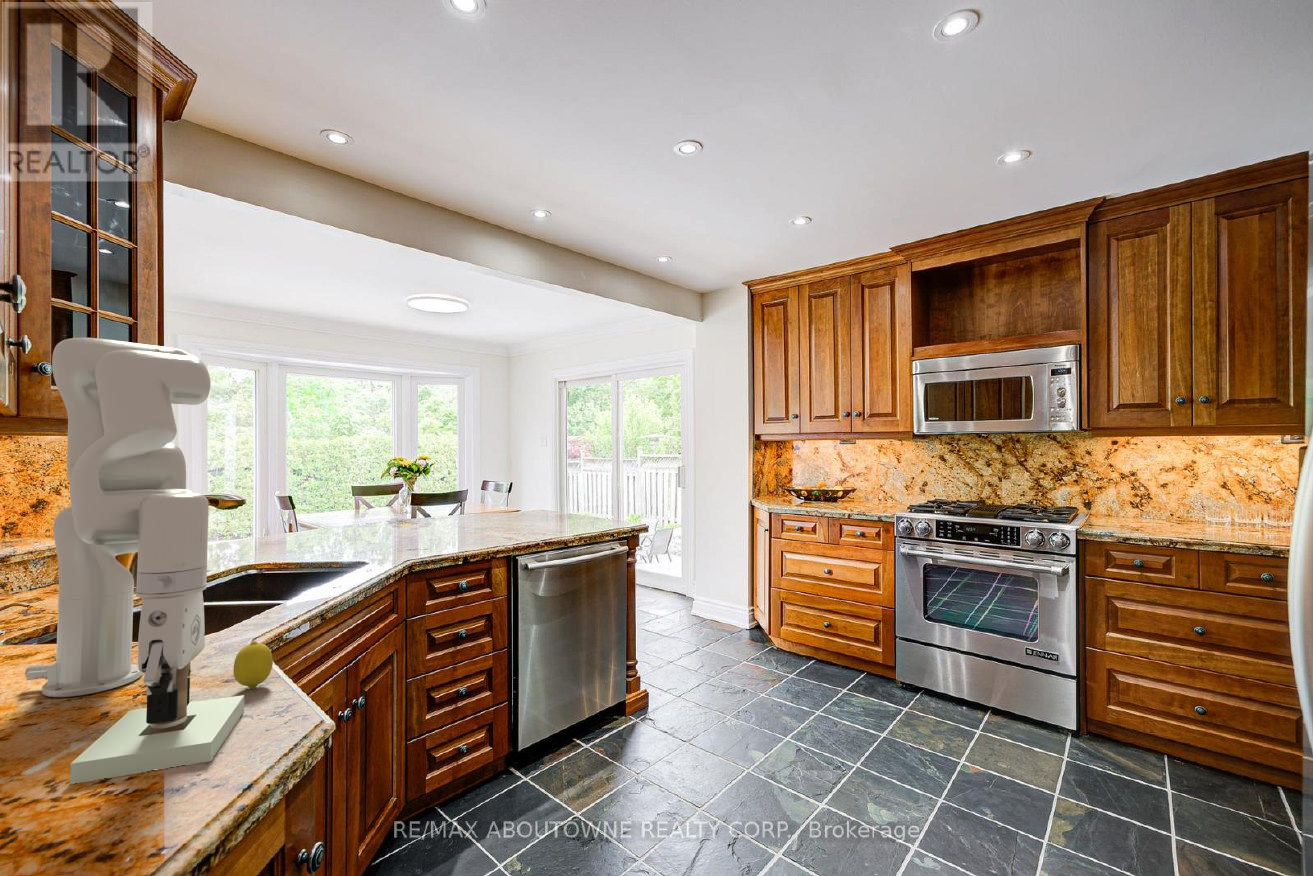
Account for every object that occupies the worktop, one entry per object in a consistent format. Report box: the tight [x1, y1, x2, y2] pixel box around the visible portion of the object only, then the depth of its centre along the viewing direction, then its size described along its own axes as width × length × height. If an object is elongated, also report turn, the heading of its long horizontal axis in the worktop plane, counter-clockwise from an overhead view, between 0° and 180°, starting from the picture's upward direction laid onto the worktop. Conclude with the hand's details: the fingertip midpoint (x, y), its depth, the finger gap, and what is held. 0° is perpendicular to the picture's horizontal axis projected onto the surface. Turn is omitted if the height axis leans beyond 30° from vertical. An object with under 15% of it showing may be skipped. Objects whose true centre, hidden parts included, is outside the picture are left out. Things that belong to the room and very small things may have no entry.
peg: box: [150, 664, 188, 734], centre depth 80 cm, size 4×4×11 cm
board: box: [69, 694, 245, 785], centre depth 80 cm, size 14×16×2 cm
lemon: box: [233, 640, 274, 690], centre depth 99 cm, size 6×6×8 cm
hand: (168, 713), depth 80 cm, fingers closed on peg, 3 cm apart
